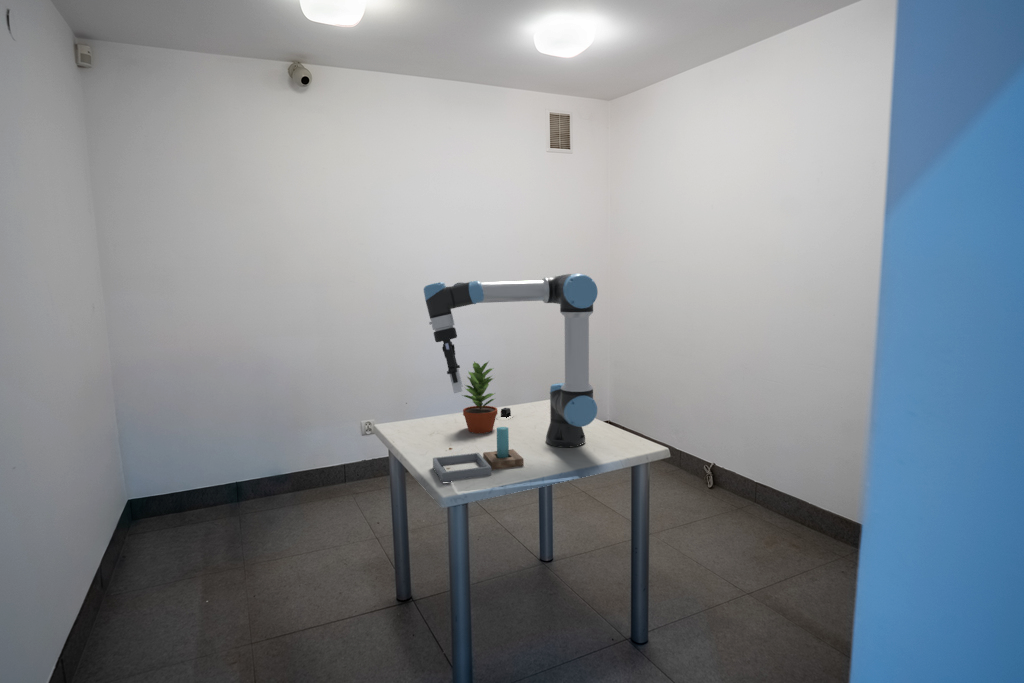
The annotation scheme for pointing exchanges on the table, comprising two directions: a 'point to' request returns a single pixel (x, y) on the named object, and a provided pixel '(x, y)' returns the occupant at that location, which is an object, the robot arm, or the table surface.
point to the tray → (460, 474)
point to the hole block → (503, 460)
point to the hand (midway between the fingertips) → (458, 389)
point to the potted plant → (479, 402)
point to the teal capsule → (502, 442)
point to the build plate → (505, 412)
